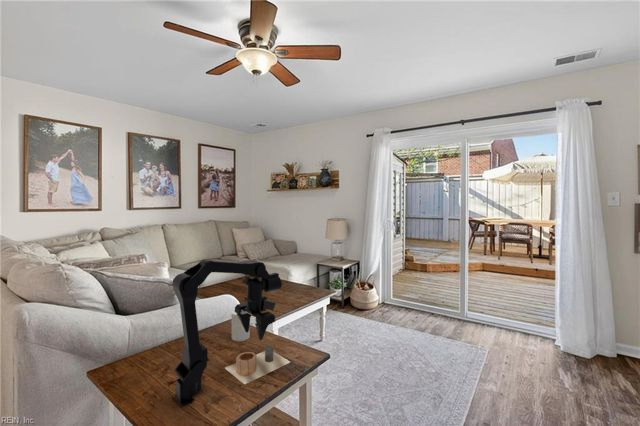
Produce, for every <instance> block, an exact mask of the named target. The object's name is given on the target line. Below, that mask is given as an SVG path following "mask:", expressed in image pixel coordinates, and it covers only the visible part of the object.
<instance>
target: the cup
mask: <svg viewBox="0 0 640 426" xmlns="http://www.w3.org/2000/svg"><path fill="white" fill-rule="evenodd" d="M250 327H251V326H249V332H245V330H244V327H243V325H242V323H241V321H240V319H239V317H238V315H237V313H236V312H235V309H234V310H232V311H231V340H232V341H235V342H244V341H247V340H249V338H250V336H251V335H250V334H251V333H250V332H251V328H250ZM246 339H247V340H246Z"/></svg>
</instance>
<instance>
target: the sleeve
mask: <svg viewBox="0 0 640 426" xmlns="http://www.w3.org/2000/svg"><path fill="white" fill-rule="evenodd" d="M235 363H236V373H238V374H239V375H241V376H249V375H251V374H253V373H255V371H256V369H257V355H256V353H255V352H254V351H253V352H252V351H245V352H242V353H239V354H238V355H237V357H236V358H235Z"/></svg>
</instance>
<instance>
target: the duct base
mask: <svg viewBox="0 0 640 426" xmlns="http://www.w3.org/2000/svg"><path fill="white" fill-rule="evenodd" d="M255 354H256V353H255ZM256 355H257V369H256V371H255V373H253V374H251V375H249V376H241V375H239V374H238V373H236V362H235V363H233V364H230V365H228V366H225V367H224V369H225V370H226V371H228V373H230V374H231V375H232V376H233V377H234V378H236V379H237V380H239V382H241V383H242V384H244V385H246V384H249V383H251V382H253V381H255V380H257V379H260V378H261V377H263V376H265V375H267V374H269V373H271V372H273V371H276V370H278V369H280V368H283V366H286V365H288V364H290V363H291V361H290V360H288V359H286V358H285V357H283V356H281V355H280V354H279V353H277V352H275V351H274V346H273V345H271V344H270V345H266V346H265V347H264V350H263V351H261V352H259V353H257V354H256Z"/></svg>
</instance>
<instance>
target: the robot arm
mask: <svg viewBox="0 0 640 426" xmlns="http://www.w3.org/2000/svg"><path fill="white" fill-rule="evenodd" d="M212 273H219V274H220V273H223V274H224V273H225V274H242V275H245V276H246V277H245V278H244V279H243V280H242V281H241V284H243V285H246V286H247V287H246V296H244V301H246V302H243V303H239V304H238V303H237V304H236V305H235V307H234V310H235V312H236V313H237V315H238V317H239V319H240V321H241V323H242V325H243V327H244V330H245V332H249V326H250V325H251V317H252V316H253V317H255V324H254V325H255V329H256V333H257V337H258V340H259V341H262V340H263V339H264V337H265V333H266V330H267V328H268V326H269V325H272V324H273V323H275V322H276V315H275V314H274V313H272V312H274V310H275V306H276V304H277V303H276V302H275V301H273V300H271V299H268V297H267V296H266V295H263V294H264V292H265V293H270V292H277V291H279V290H281V288H282V285H283V283H282V280H281V278H280V275H279V274H280V273H278V272H273V273H269V272H268V271H267V268H266V264H265V263H264V262H262V261H258V260H255V259H248V260H243V261H227V260H216V259H215V260H214V259H213V260H211V259H208V258H207V259H206V258H205V259H204V258H203V259H201V260H200V261H199V262H198V263H197V264H195V265H193V266H191V267H189V268H188V269H186V270H185V271H183V272H182V273H181V272H180V273H179V274H177V275H176V276H175V277H174V278H173V279H172V282H171V283H172V288H173V291H174V294H175V297H176V298H177V300H178V303H179V306H180V314H181V315H180V316H181V324H182V332H183V333H182V334H183V340H184V347H183V350H182V353H181V354H182V355H181V361H180V363H178V365H177V366H176V367H175V368H174V373H175V375H176V376H177V377H178V379H176V394H175V395H174V398H175V400H176V401H177V402H178V403H179V405H180V406H186V405H188V404H190V403H192V402H194V401H195V398H194V396H196V395H197V394H198V393H199V392H200V391H201V390H202V378H203V374H204V371H205V369H207V367H208V362H210V359H209V357H208V352H209V351H208V348H207V347H206V346H205V345H204V344H203V343H201V342H200V340H201V339H200V335H199V334H200V333H199V325H198V318H197V317H198V315H197V309H196V308H197V306H196V300H197V297H198V294H199V286H201V285H202V284H203V283H204V282H206V280H207V278H208V277H209V275H210V274H212ZM250 277H251V278H250ZM263 291H264V292H263ZM267 310H268V311H267ZM269 310H270V311H272V312H270V311H269ZM250 327H251V326H250Z"/></svg>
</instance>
